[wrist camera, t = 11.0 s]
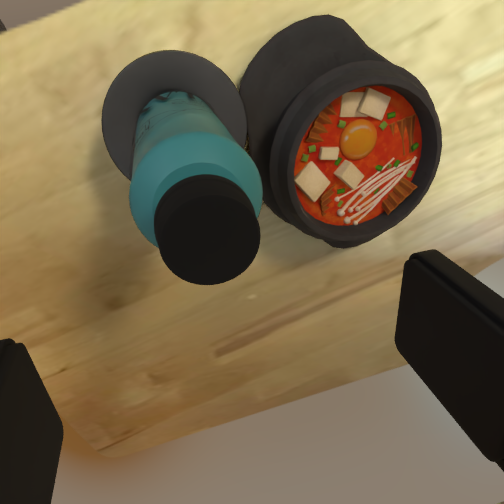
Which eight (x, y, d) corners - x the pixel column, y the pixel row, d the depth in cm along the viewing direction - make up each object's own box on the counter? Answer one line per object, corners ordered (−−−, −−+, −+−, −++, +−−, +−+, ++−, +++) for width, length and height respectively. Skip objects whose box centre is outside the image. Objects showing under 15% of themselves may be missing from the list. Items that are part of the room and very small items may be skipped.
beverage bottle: (219, 89, 31) (311, 156, 14) (214, 172, 34) (285, 312, 17) (132, 82, 29) (113, 148, 12) (135, 170, 32) (124, 322, 15)
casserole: (439, 182, 48) (490, 207, 41) (312, 269, 50) (340, 309, 43) (355, -32, 35) (409, -49, 28) (189, 96, 37) (199, 111, 30)
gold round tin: (125, 181, 40) (121, 208, 34) (93, 54, 34) (82, 58, 28) (237, 165, 41) (252, 187, 35) (224, 41, 36) (240, 42, 30)
